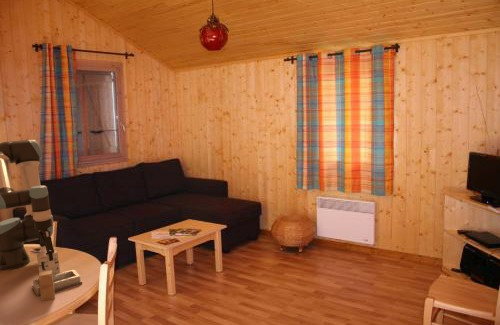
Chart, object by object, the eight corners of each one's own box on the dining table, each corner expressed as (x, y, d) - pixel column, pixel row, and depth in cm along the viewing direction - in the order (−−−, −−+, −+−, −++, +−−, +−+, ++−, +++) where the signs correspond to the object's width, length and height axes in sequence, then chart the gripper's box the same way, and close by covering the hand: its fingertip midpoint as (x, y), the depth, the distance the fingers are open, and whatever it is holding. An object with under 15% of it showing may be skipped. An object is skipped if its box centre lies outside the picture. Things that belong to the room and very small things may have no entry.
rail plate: (32, 287, 183) (31, 280, 183) (74, 275, 194) (73, 268, 194) (38, 297, 174) (36, 289, 173) (82, 283, 185) (81, 276, 184)
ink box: (41, 280, 191) (37, 256, 189) (39, 277, 195) (36, 253, 193) (60, 275, 195) (57, 251, 193) (59, 272, 199) (56, 248, 198)
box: (41, 301, 170) (37, 276, 168) (41, 297, 173) (38, 272, 172) (55, 298, 172) (51, 273, 170) (55, 294, 176) (52, 269, 174)
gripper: (28, 216, 198) (34, 258, 201) (39, 226, 179) (45, 272, 182) (45, 213, 203) (51, 254, 206) (57, 222, 183) (63, 268, 186)
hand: (48, 263), depth 194 cm, fingers open, 13 cm apart
